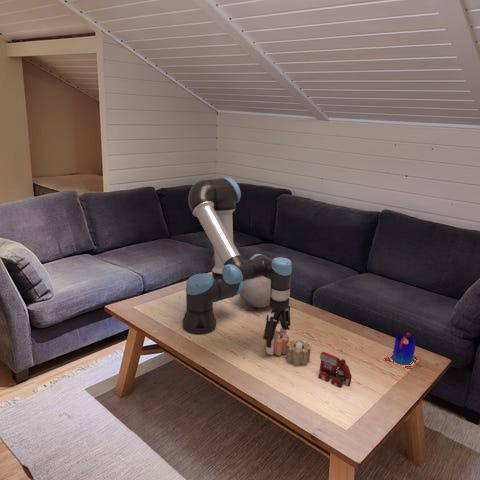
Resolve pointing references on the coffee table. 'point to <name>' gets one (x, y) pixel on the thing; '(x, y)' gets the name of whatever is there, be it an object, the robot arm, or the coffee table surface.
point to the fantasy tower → (403, 350)
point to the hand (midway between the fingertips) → (276, 348)
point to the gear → (298, 353)
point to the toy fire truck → (334, 370)
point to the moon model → (256, 292)
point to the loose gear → (280, 343)
